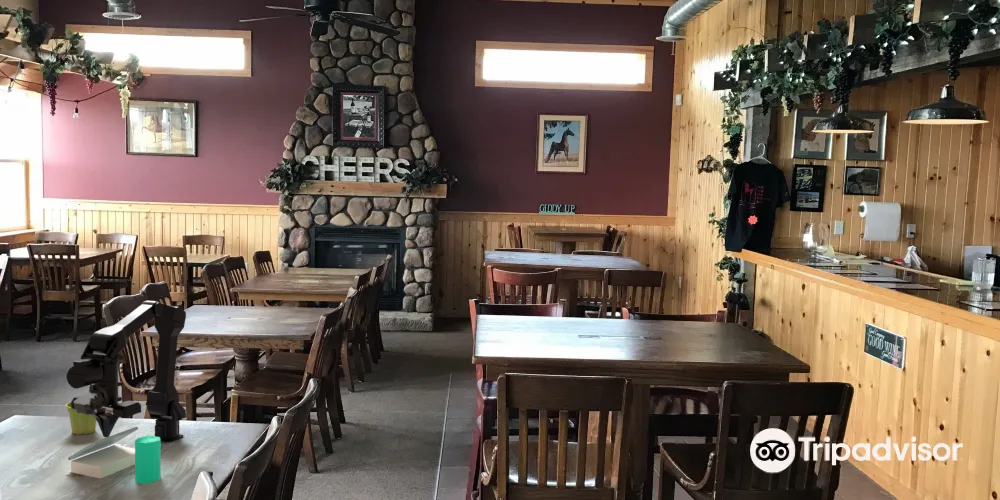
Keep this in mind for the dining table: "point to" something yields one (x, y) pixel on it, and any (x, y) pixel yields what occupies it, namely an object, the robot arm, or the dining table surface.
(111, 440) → the lid
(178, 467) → the dining table surface
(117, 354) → the robot arm
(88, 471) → the small notepad
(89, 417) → the plant pot
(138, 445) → the candle
